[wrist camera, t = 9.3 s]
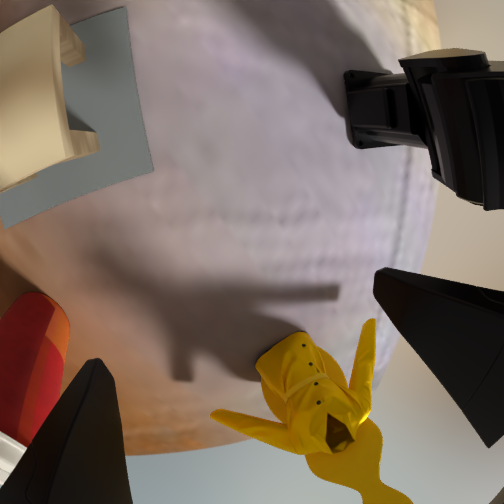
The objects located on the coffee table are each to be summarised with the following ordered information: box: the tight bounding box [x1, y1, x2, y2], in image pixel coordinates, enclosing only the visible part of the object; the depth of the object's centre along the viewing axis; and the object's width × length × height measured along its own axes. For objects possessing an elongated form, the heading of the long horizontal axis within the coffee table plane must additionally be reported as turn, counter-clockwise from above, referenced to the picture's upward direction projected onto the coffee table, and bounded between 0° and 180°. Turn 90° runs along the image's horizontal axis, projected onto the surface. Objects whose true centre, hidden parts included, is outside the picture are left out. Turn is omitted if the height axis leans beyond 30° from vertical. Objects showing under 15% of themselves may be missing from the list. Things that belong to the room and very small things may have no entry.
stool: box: [0, 5, 101, 193], centre depth 9 cm, size 8×6×7 cm
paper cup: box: [0, 292, 70, 485], centre depth 11 cm, size 8×8×14 cm
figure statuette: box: [210, 318, 413, 504], centre depth 17 cm, size 18×8×22 cm, turn 114°
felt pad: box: [0, 7, 154, 229], centre depth 12 cm, size 12×12×1 cm
